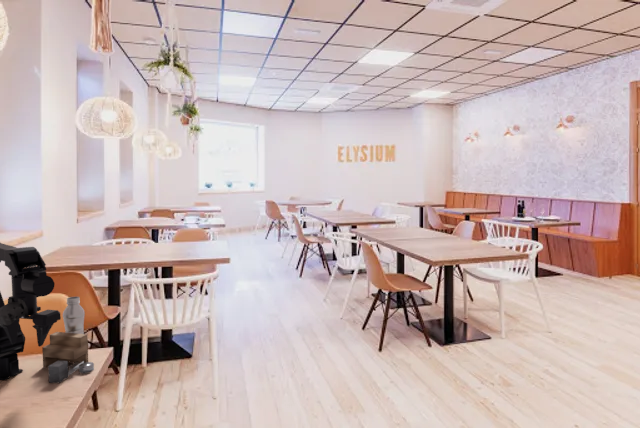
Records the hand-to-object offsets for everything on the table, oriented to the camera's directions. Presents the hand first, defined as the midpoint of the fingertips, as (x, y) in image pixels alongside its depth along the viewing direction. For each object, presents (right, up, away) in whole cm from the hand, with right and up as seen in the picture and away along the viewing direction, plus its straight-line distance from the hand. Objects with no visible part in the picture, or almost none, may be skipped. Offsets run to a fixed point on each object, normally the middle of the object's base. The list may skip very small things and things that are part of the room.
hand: (26, 344), depth 125 cm
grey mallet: (+7, -11, +9) cm, 16 cm away
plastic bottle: (+2, -11, +22) cm, 24 cm away
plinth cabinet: (+3, -11, +15) cm, 18 cm away
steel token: (+11, -12, +11) cm, 19 cm away
